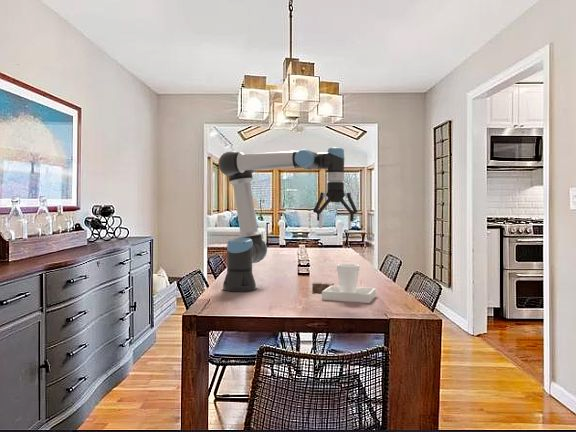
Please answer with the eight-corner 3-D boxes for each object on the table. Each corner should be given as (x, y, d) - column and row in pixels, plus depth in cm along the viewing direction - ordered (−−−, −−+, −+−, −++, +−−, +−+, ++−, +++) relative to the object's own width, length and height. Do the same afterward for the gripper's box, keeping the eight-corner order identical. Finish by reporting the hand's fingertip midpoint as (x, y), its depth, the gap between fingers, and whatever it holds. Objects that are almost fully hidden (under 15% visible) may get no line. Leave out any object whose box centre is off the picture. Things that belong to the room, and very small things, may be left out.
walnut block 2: (321, 292, 234) (321, 283, 234) (326, 291, 237) (326, 282, 237) (329, 293, 231) (329, 284, 231) (333, 292, 235) (333, 283, 235)
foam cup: (357, 297, 216) (358, 266, 215) (335, 296, 217) (336, 266, 217) (359, 293, 225) (359, 264, 224) (338, 292, 227) (338, 263, 226)
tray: (322, 299, 217) (322, 291, 216) (331, 293, 232) (331, 285, 232) (369, 303, 210) (369, 294, 210) (375, 296, 225) (375, 288, 225)
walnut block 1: (312, 292, 234) (312, 283, 234) (313, 290, 238) (313, 282, 238) (321, 292, 234) (321, 283, 233) (321, 291, 238) (321, 282, 237)
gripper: (307, 181, 236) (306, 228, 237) (361, 181, 228) (360, 229, 229) (311, 182, 243) (311, 227, 244) (364, 182, 236) (363, 228, 236)
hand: (335, 228), depth 237 cm, fingers open, 13 cm apart
